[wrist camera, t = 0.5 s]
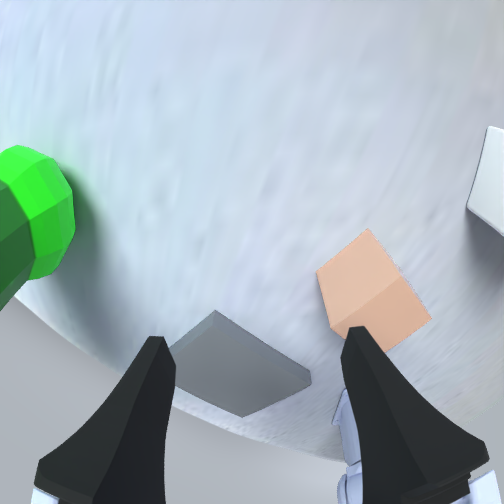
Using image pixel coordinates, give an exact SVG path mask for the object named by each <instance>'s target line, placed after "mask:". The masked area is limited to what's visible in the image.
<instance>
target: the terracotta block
mask: <svg viewBox="0 0 504 504" xmlns="http://www.w3.org/2000/svg"><path fill="white" fill-rule="evenodd" d="M316 274H317V278H318V281H319V285H320V289H321V292H322V296H323V300H324V304H325V307H326V311H327V315H328V319H329V323H330V327H331V329H332V330H333V331H335V332H336V333H337V334H338V335H340V336H341V337H342V338H343V339H345V340H346V337H347V334H348V330H349V327H357V326H365V327H366V329H367V330H368V331H369V333H370V334H371V335H372V337H373V338H374V340H375V341H376V342H377V344H378V345H379V346H380V348H381V349H382V350H383V352H384V353H385V352H387V351H388V350H390V349H391V348H393V347H394V346H395V345H397V344H398V343H400V342H401V341H403V340H404V339H405V338H407V337H408V336H410V335H411V334H412V333H414V332H415V331H417V330H418V329H419V328H421V327H422V326H423V325H425V324H426V323H427V322H428V321H430V320H431V319H432V318H431V316H430V315H429V313H428V311H427V310H426V308H425V306H424V305H423V303H422V301H421V300H420V298H419V297H418V295H417V293H416V292H415V290H414V289H413V287H412V286H411V284H410V283H409V281H408V280H407V278H406V277H405V275H404V274H403V272H402V271H401V269H400V268H399V266H398V265H397V264H396V262H395V261H394V260H393V259H392V257H391V256H390V255H389V253H388V252H387V251H386V250H385V248H384V247H383V246H382V245H381V243H380V242H379V241H378V240H377V238H376V237H375V236H374V235H373V234H372V232H371V231H370V230H369V229H368V228H367V229H366V230H365V231H364V232H363V233H362V234H360V235H359V236H358V237H357V238H356V239H355V240H353V241H352V242H351V243H350V244H349V245H347V246H346V247H345V248H344V249H343V250H341V251H340V252H339V253H338V254H337V255H335V256H334V257H333V258H332V259H331V260H329V261H328V262H327V263H326V264H325V265H323V266H322V267H321V268H320V269H318V270H317V271H316Z"/></svg>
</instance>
